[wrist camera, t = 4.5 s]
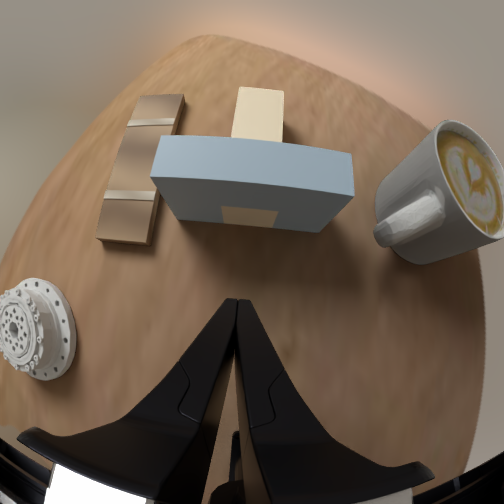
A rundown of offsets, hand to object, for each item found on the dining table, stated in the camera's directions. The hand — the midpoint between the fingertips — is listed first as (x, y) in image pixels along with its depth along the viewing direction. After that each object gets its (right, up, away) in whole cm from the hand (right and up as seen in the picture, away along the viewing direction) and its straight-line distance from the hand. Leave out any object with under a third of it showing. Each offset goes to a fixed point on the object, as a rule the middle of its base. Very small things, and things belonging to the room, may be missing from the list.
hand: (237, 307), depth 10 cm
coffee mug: (+15, +5, +14) cm, 21 cm away
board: (-10, +11, +14) cm, 20 cm away
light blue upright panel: (+1, +10, +14) cm, 17 cm away
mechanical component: (-20, -6, +10) cm, 23 cm away
